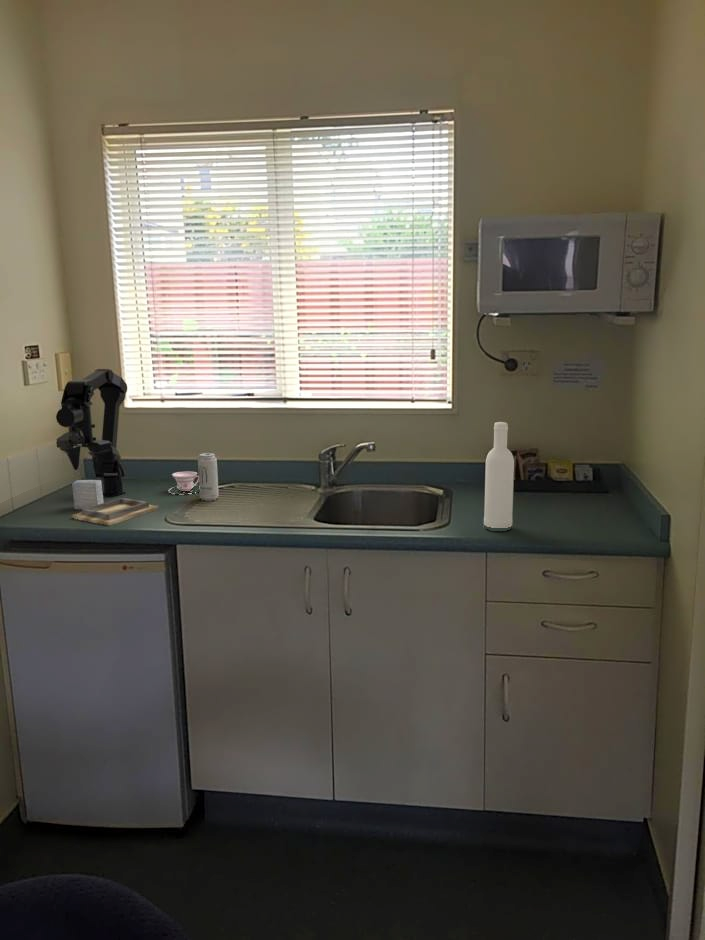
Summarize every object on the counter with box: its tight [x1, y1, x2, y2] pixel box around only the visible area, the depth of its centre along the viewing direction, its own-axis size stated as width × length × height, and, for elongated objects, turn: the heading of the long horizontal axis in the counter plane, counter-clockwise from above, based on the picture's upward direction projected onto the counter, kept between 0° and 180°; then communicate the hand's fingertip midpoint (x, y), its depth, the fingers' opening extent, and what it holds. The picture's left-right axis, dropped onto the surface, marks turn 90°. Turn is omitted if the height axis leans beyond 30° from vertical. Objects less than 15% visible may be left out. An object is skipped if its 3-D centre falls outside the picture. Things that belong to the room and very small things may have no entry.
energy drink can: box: [197, 452, 220, 502], centre depth 249 cm, size 6×6×15 cm
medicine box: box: [71, 479, 105, 510], centre depth 242 cm, size 8×4×9 cm, turn 84°
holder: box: [71, 497, 160, 526], centre depth 235 cm, size 16×20×2 cm
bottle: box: [483, 421, 515, 528], centre depth 212 cm, size 8×8×30 cm
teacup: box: [167, 470, 199, 496], centre depth 262 cm, size 12×12×6 cm
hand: (86, 471), depth 240 cm, fingers open, 9 cm apart
